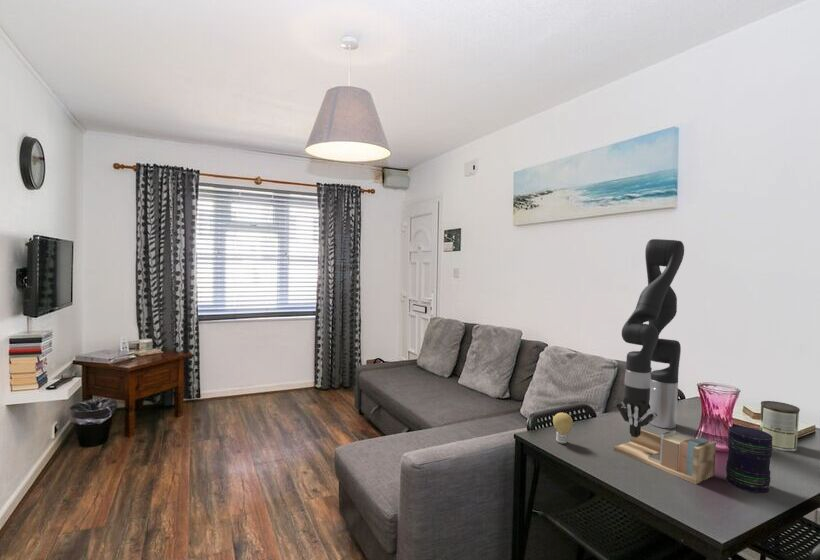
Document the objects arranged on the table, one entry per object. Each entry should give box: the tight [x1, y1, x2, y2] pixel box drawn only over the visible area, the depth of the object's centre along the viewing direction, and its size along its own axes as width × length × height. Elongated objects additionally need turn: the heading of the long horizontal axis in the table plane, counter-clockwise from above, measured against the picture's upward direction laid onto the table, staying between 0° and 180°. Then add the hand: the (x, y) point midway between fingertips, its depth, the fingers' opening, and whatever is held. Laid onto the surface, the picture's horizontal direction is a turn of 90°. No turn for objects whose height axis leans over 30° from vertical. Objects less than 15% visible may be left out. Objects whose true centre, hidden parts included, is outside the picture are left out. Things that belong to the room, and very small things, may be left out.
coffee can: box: [759, 400, 801, 452], centre depth 150 cm, size 10×10×14 cm
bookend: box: [648, 429, 677, 463], centre depth 133 cm, size 7×4×9 cm, turn 121°
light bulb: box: [552, 412, 574, 444], centre depth 146 cm, size 6×6×10 cm
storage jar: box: [725, 425, 773, 495], centre depth 120 cm, size 10×10×15 cm
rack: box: [613, 428, 717, 485], centre depth 133 cm, size 10×25×10 cm, turn 31°
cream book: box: [661, 434, 689, 471], centre depth 129 cm, size 7×4×8 cm, turn 121°
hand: (634, 436), depth 141 cm, fingers closed
